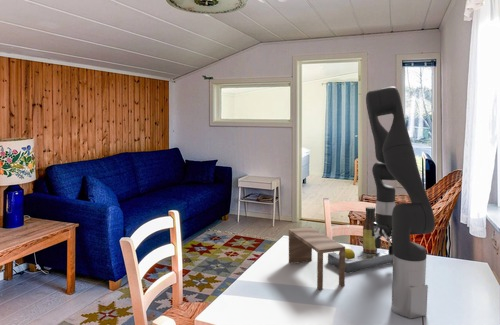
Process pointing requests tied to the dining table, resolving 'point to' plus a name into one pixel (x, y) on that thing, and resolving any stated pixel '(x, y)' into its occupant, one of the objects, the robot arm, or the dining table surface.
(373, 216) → the sauce bottle
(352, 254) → the lemon
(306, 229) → the small wooden stool
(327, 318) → the dining table surface
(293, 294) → the dining table surface
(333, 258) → the crook tool
